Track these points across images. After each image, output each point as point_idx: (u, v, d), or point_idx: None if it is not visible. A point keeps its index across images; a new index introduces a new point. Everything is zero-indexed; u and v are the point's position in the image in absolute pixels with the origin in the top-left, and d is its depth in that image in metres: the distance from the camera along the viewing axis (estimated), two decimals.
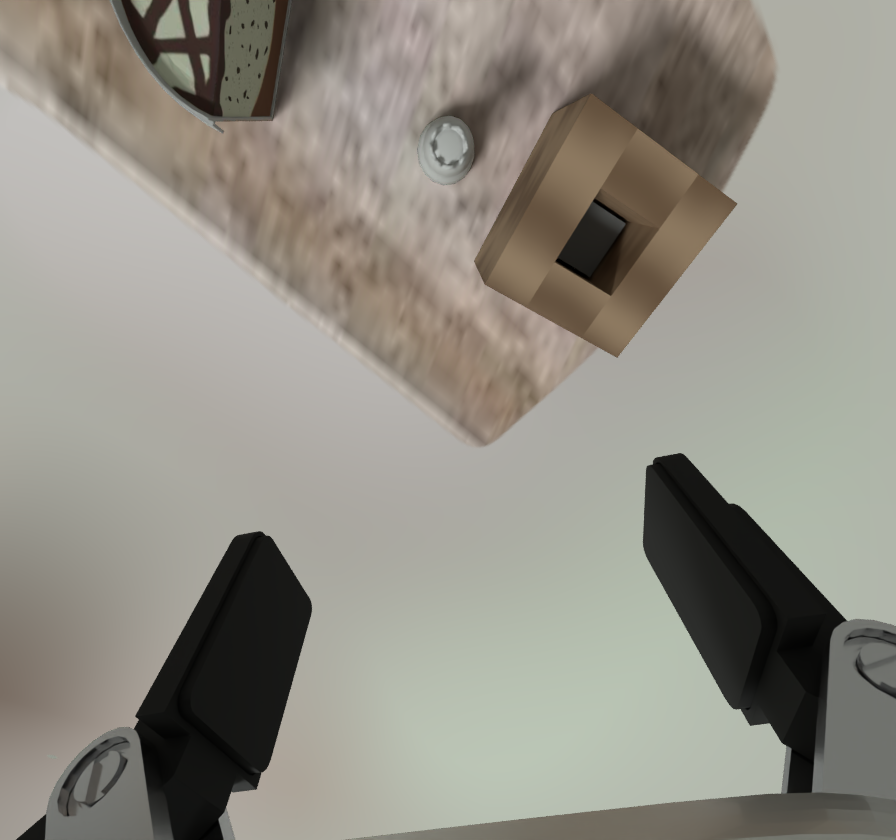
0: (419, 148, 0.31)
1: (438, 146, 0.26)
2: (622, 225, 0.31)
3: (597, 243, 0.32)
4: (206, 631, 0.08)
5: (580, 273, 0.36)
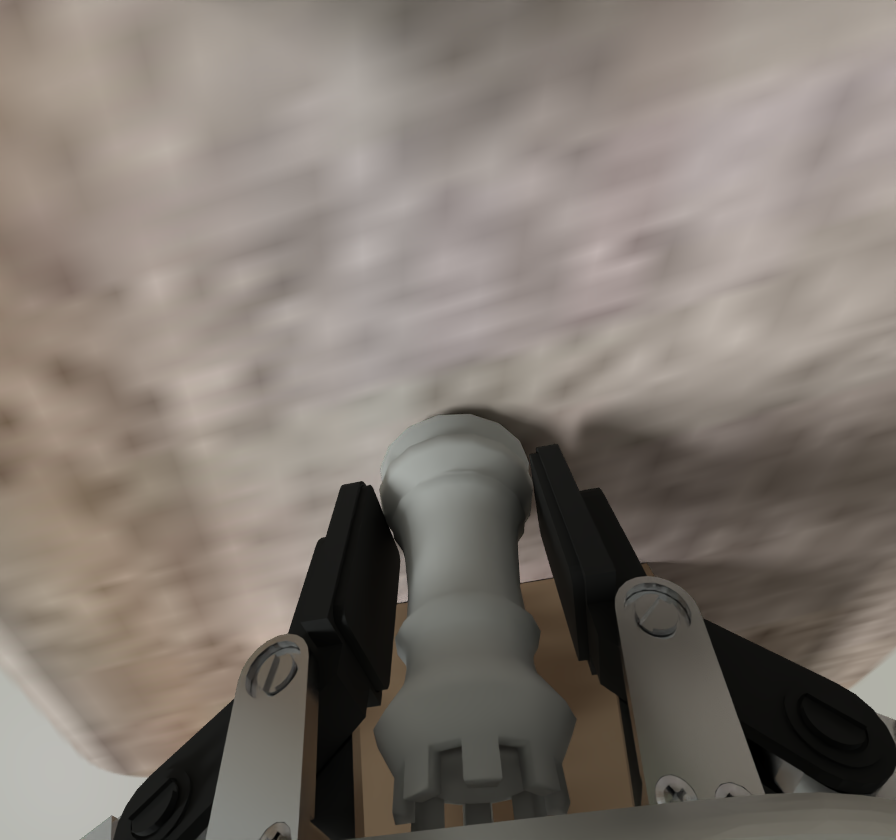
0: (412, 458, 0.10)
1: (450, 773, 0.06)
2: None
3: None
4: (342, 558, 0.08)
5: None
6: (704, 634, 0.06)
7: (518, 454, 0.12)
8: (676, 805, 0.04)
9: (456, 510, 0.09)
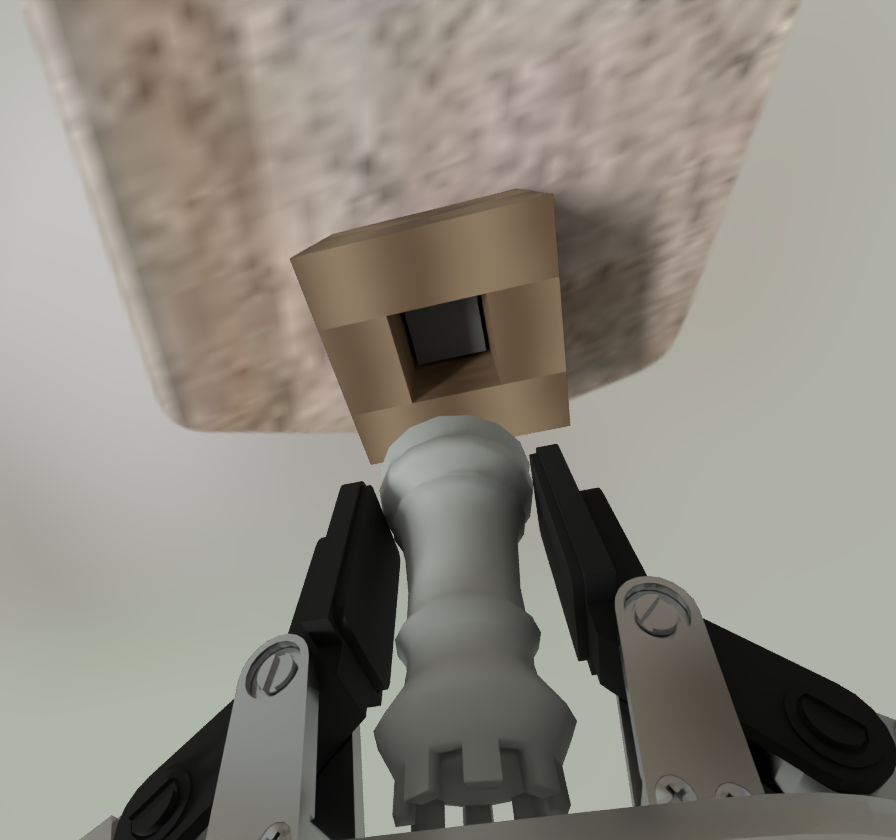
0: (412, 459, 0.10)
1: (451, 776, 0.06)
2: (482, 348, 0.26)
3: (449, 342, 0.26)
4: (342, 558, 0.08)
5: None
6: (704, 634, 0.06)
7: (518, 455, 0.12)
8: (676, 805, 0.04)
9: (456, 512, 0.09)
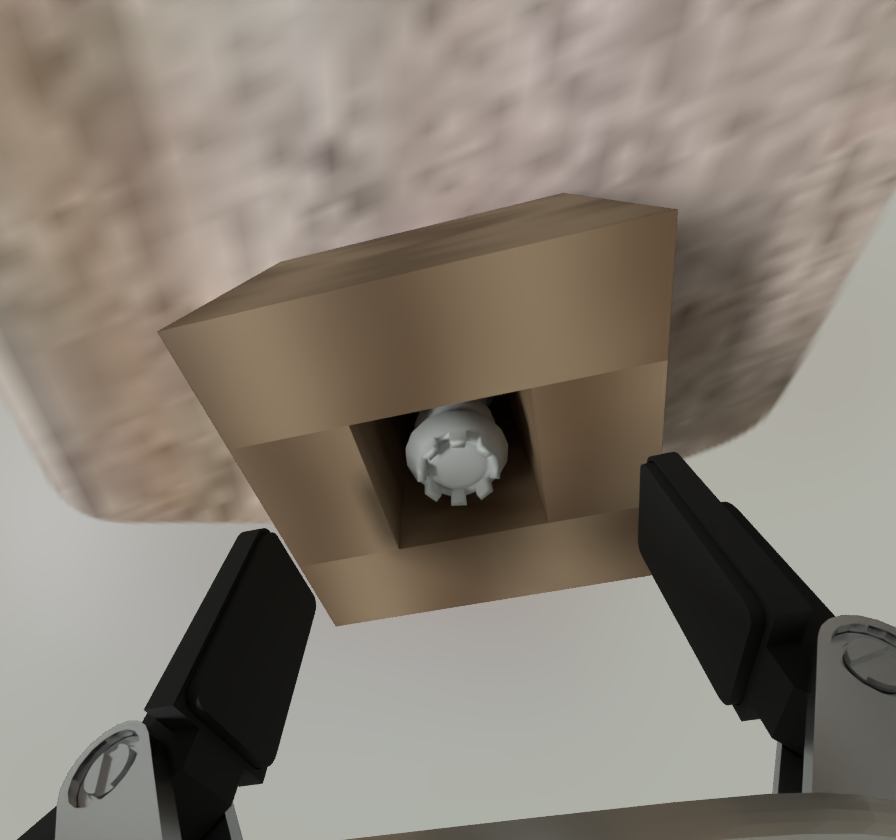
0: None
1: (444, 455, 0.12)
2: (497, 398, 0.20)
3: None
4: (213, 626, 0.08)
5: (412, 430, 0.20)
6: None
7: None
8: (676, 805, 0.04)
9: None
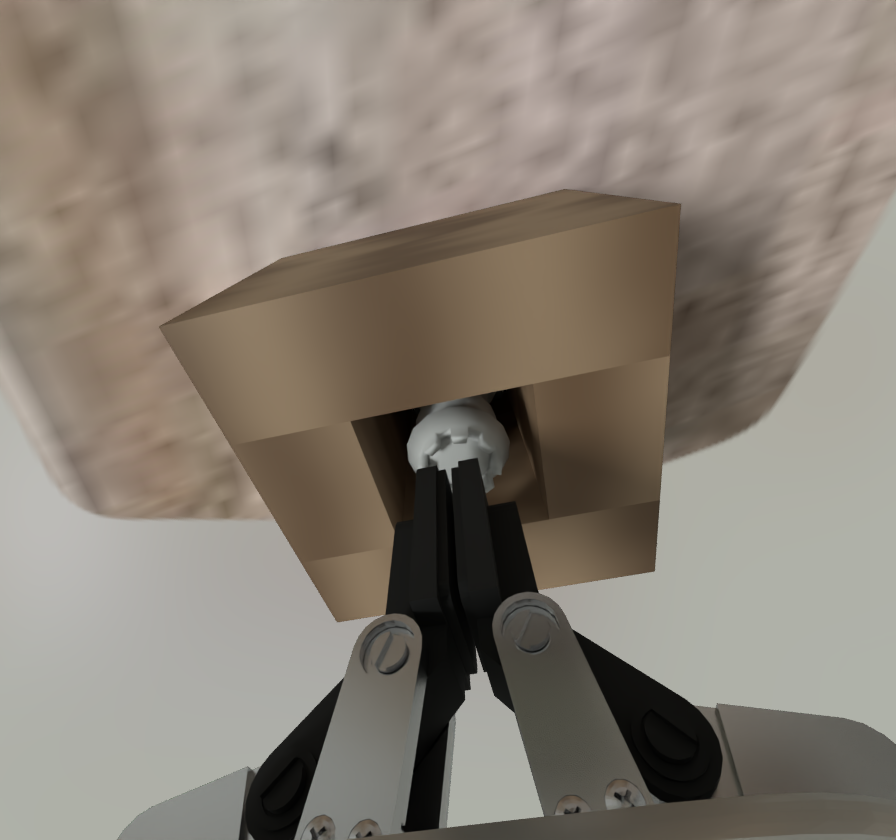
0: None
1: (445, 450, 0.12)
2: (498, 395, 0.20)
3: None
4: (436, 539, 0.08)
5: (413, 427, 0.20)
6: (573, 636, 0.06)
7: None
8: (676, 805, 0.04)
9: None
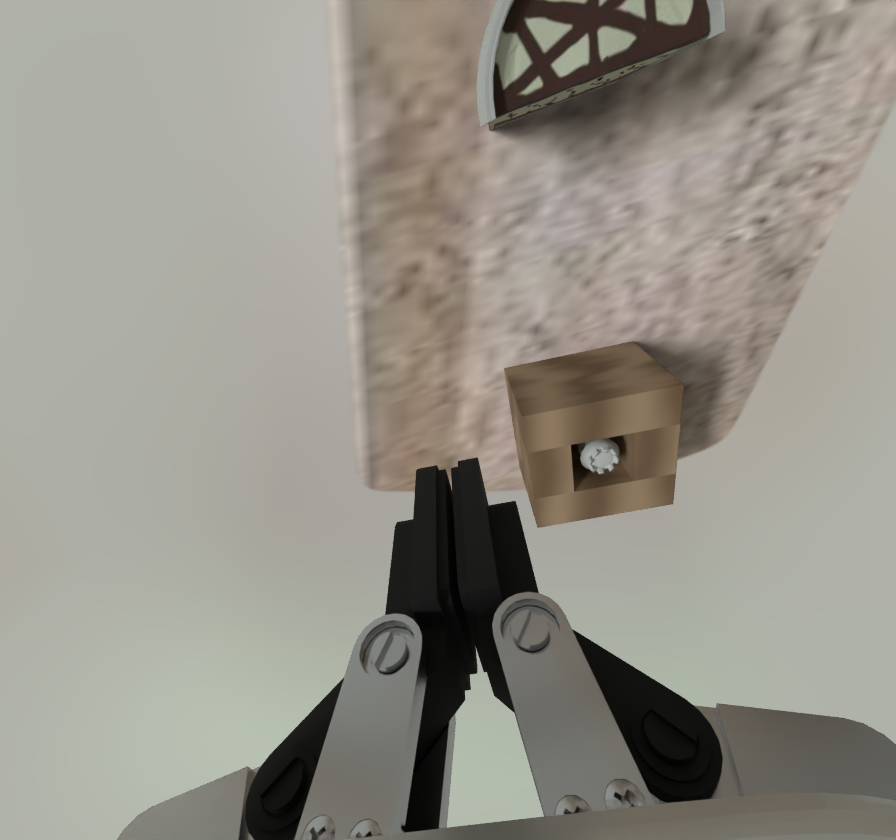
0: None
1: (598, 455, 0.33)
2: None
3: None
4: (436, 539, 0.08)
5: None
6: (573, 635, 0.06)
7: None
8: (676, 805, 0.04)
9: None
